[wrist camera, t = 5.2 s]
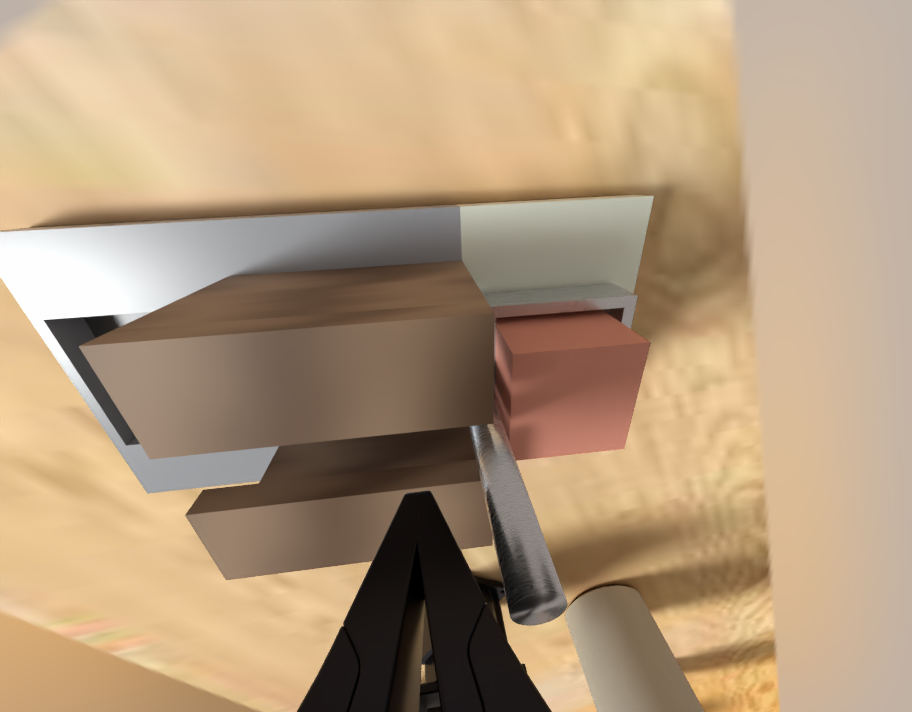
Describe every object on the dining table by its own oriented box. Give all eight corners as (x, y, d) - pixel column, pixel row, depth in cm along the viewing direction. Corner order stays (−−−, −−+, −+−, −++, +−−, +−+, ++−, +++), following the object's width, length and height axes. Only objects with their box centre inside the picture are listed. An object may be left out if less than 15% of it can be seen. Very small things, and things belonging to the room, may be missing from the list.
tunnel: (462, 260, 15) (494, 313, 9) (468, 429, 19) (492, 545, 13) (228, 276, 14) (78, 346, 8) (290, 448, 18) (226, 580, 12)
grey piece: (613, 283, 16) (954, 448, 6) (592, 397, 19) (793, 637, 9) (450, 295, 15) (515, 502, 5) (457, 411, 18) (505, 683, 8)
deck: (628, 194, 16) (653, 196, 14) (588, 422, 23) (602, 442, 21) (27, 227, 14) (-29, 233, 12) (170, 467, 21) (147, 493, 19)
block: (587, 300, 16) (650, 342, 12) (574, 386, 18) (624, 448, 14) (486, 307, 16) (513, 354, 11) (486, 394, 18) (508, 461, 14)
